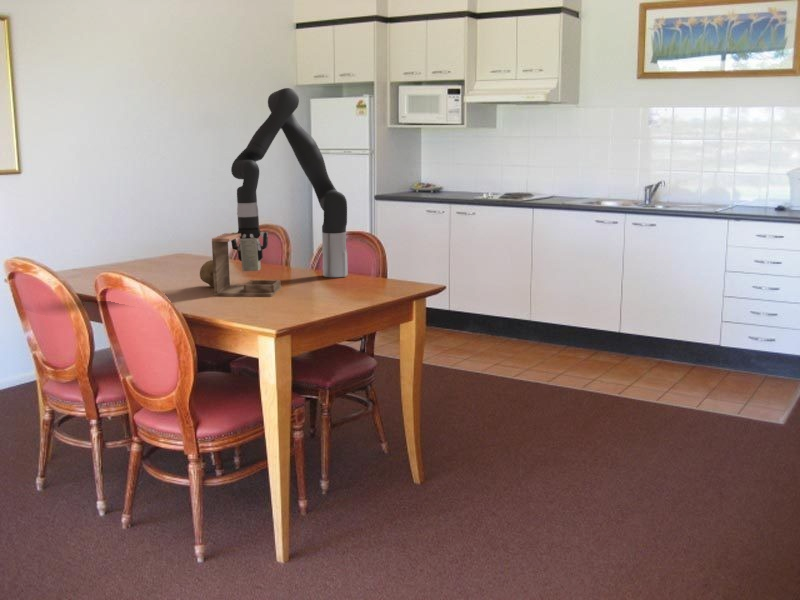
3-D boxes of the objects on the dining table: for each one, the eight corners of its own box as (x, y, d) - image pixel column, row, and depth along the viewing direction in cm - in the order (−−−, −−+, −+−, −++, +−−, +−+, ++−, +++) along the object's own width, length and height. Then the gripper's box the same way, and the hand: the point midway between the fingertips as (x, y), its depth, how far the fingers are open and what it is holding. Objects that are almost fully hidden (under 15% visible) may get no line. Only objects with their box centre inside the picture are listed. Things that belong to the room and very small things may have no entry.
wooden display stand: (282, 288, 320) (280, 233, 317) (272, 296, 305) (270, 238, 301) (227, 288, 322) (224, 233, 318) (214, 296, 306) (211, 238, 303)
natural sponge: (213, 290, 319) (211, 262, 317) (195, 288, 323) (193, 261, 321) (230, 286, 326) (229, 259, 324) (212, 284, 331) (211, 257, 329)
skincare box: (261, 269, 328) (259, 236, 326) (258, 271, 324) (256, 238, 321) (244, 269, 329) (242, 237, 326) (241, 271, 324) (239, 238, 322)
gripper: (269, 213, 325) (272, 258, 329) (231, 214, 327) (234, 259, 330) (265, 215, 318) (267, 261, 321) (225, 216, 319) (228, 262, 322)
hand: (250, 260), depth 325 cm, fingers closed on skincare box, 6 cm apart
